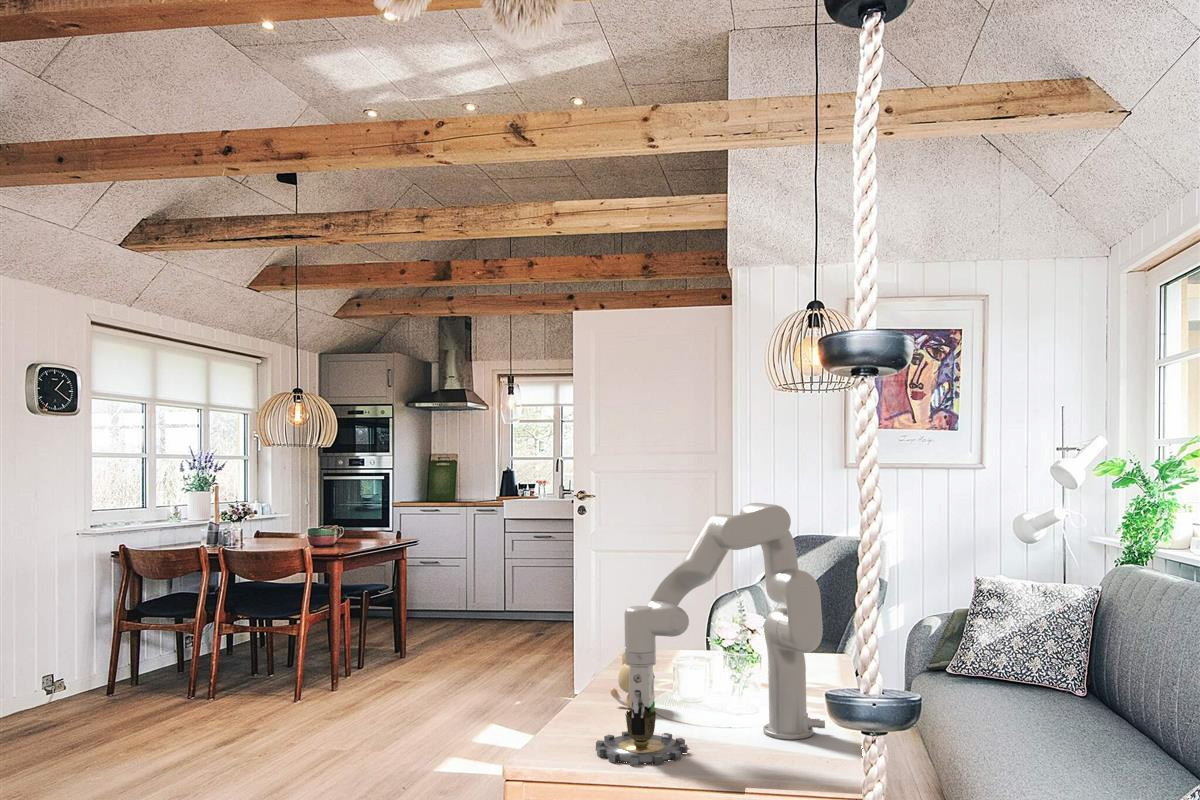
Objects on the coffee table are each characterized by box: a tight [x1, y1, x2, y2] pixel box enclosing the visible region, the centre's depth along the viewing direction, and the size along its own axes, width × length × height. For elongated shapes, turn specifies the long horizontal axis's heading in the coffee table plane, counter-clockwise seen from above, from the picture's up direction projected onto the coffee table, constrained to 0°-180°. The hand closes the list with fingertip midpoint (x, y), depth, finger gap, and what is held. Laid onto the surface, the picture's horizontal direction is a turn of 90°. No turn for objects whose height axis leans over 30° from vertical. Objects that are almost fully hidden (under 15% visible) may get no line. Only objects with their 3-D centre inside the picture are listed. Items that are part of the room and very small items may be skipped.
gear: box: [595, 730, 688, 766], centre depth 238 cm, size 22×22×2 cm
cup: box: [624, 709, 657, 747], centre depth 238 cm, size 8×7×8 cm
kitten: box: [609, 652, 656, 713], centre depth 278 cm, size 15×10×15 cm, turn 32°
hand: (641, 728), depth 238 cm, fingers open, 9 cm apart
